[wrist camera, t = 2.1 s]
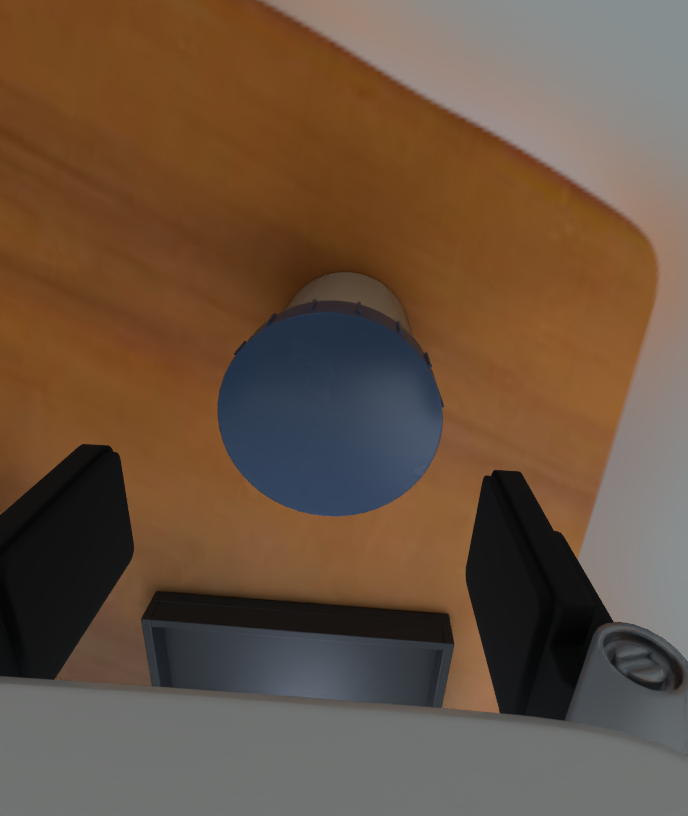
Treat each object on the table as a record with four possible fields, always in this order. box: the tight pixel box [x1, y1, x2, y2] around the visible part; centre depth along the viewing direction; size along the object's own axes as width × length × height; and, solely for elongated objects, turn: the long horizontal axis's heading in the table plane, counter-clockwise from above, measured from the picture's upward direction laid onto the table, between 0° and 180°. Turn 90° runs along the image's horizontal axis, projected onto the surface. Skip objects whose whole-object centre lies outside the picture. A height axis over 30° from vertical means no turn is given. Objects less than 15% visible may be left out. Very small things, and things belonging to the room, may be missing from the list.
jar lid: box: [218, 299, 444, 516], centre depth 16 cm, size 7×7×2 cm
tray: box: [141, 592, 454, 708], centre depth 33 cm, size 19×14×2 cm
